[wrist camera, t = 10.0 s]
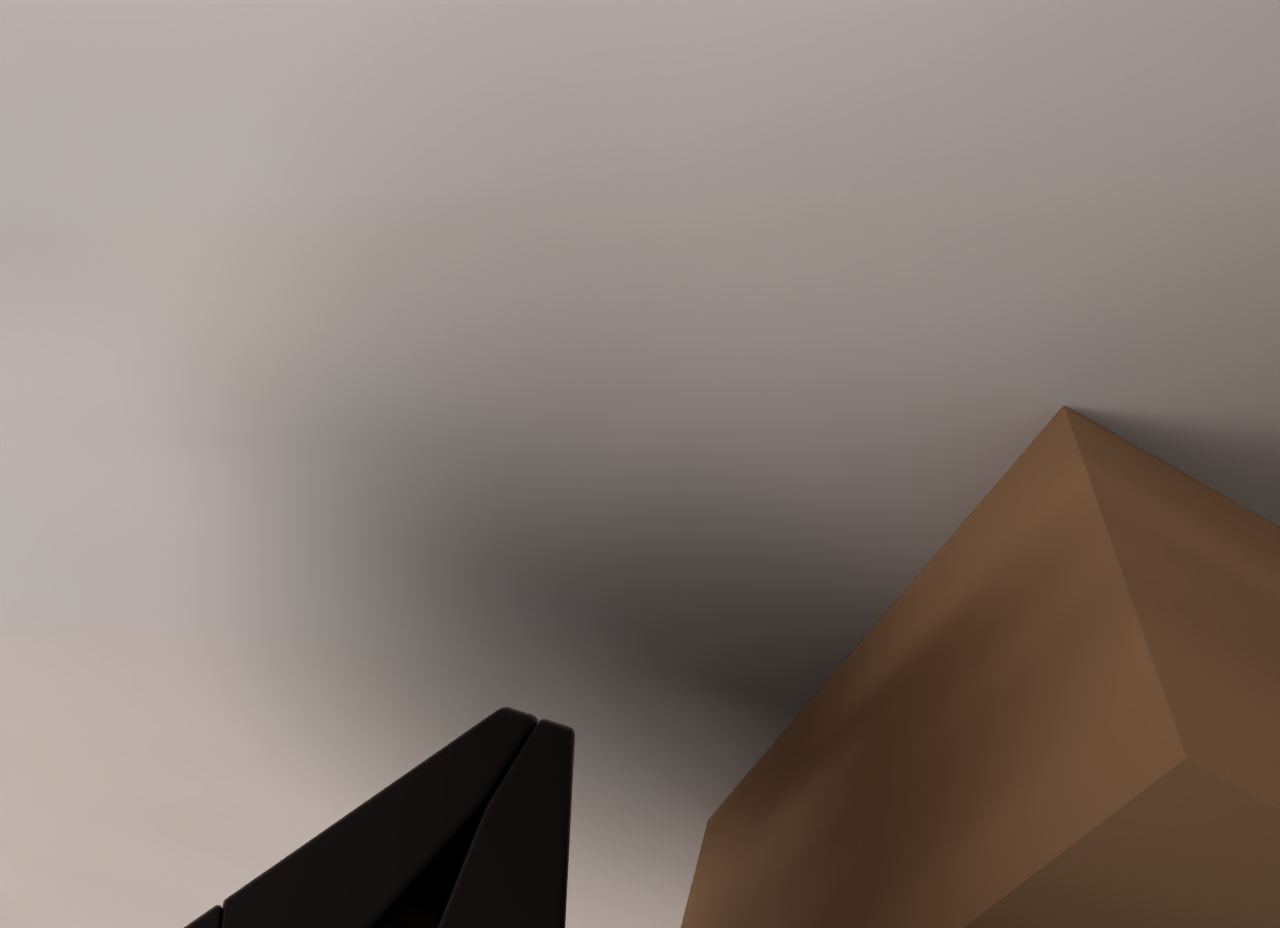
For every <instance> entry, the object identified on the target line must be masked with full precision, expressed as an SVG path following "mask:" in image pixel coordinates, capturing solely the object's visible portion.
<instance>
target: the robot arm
mask: <svg viewBox="0 0 1280 928" xmlns="http://www.w3.org/2000/svg"><path fill="white" fill-rule="evenodd" d="M574 743H575V732H574V730H573V729H572V728H570V727H568V726H565V725H562V724H559V723H555V722H552V721H549V720H545V719H543V720H540V721H539V722H538V720H537V718H536V717H535V716H533V715H531V714H527V713H524V712H521V711H518V710H515V709H512V708H508V707H505V708H501V709H499V710H497V711H495V712H494V713H493V714H491V715H490V716H488V717H487V718H485V719H484V720H483V721H481V722H480V723H478V724H477V725H475V726H474V727H472V728H471V729H470V730H468V731H467V732H465V733H464V734H462V735H461V736H460V737H458V738H457V739H455V740H454V741H452V742H451V743H449V744H448V745H447V746H445V747H444V748H442V749H441V750H439V751H438V752H437V753H435V754H434V755H432V756H431V757H429V758H428V759H426V760H425V761H424V762H422V763H421V764H419V765H418V766H416V767H415V768H414V769H412V770H411V771H409V772H408V773H406V774H405V775H403V776H402V777H401V778H399V779H398V780H396V781H395V782H393V783H392V784H391V785H389V786H388V787H386V788H385V789H383V790H382V791H380V792H379V793H378V794H376V795H375V796H373V797H372V798H370V799H369V800H367V801H366V802H365V803H363V804H362V805H360V806H359V807H357V808H356V809H355V810H353V811H352V812H350V813H349V814H347V815H346V816H344V817H343V818H342V819H340V820H339V821H337V822H336V823H334V824H333V825H332V826H330V827H329V828H327V829H326V830H324V831H323V832H321V833H320V834H319V835H317V836H316V837H314V838H313V839H311V840H310V841H309V842H307V843H306V844H304V845H303V846H301V847H300V848H298V849H297V850H296V851H294V852H293V853H291V854H290V855H288V856H287V857H286V858H284V859H283V860H281V861H280V862H278V863H277V864H275V865H274V866H273V867H271V868H270V869H268V870H267V871H265V872H264V873H263V874H261V875H260V876H258V877H257V878H255V879H254V880H252V881H251V882H250V883H248V884H247V885H245V886H244V887H242V888H241V889H240V890H238V891H237V892H235V893H234V894H232V895H231V896H229V897H228V898H227V899H225V900H224V902H223V909H222V907H221V906H220V905H216V906H214V907H213V908H211V909H210V910H209V911H207V912H206V913H204V914H203V915H202V916H200V917H199V918H197V919H196V920H194V921H193V922H191V923H190V924H189V925H187V926H186V927H184V928H565V920H566V900H567V881H568V861H569V841H570V822H571V802H572V782H573V763H574Z"/></svg>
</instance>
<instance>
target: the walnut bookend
mask: <svg viewBox="0 0 1280 928" xmlns="http://www.w3.org/2000/svg"><path fill="white" fill-rule="evenodd" d="M681 928H1280V527H1278V526H1276V525H1275V524H1273V523H1271V522H1269V521H1268V520H1266V519H1264V518H1262V517H1260V516H1259V515H1257V514H1255V513H1253V512H1252V511H1250V510H1248V509H1246V508H1244V507H1243V506H1241V505H1239V504H1237V503H1236V502H1234V501H1232V500H1230V499H1229V498H1227V497H1225V496H1223V495H1221V494H1220V493H1218V492H1216V491H1214V490H1213V489H1211V488H1209V487H1207V486H1205V485H1204V484H1202V483H1200V482H1198V481H1197V480H1195V479H1193V478H1191V477H1190V476H1188V475H1186V474H1184V473H1182V472H1181V471H1179V470H1177V469H1175V468H1174V467H1172V466H1170V465H1168V464H1166V463H1165V462H1163V461H1161V460H1159V459H1158V458H1156V457H1154V456H1152V455H1151V454H1149V453H1147V452H1145V451H1143V450H1142V449H1140V448H1138V447H1136V446H1135V445H1133V444H1131V443H1129V442H1127V441H1126V440H1124V439H1122V438H1120V437H1119V436H1117V435H1115V434H1113V433H1112V432H1110V431H1108V430H1106V429H1104V428H1103V427H1101V426H1099V425H1097V424H1096V423H1094V422H1092V421H1090V420H1088V419H1087V418H1085V417H1083V416H1081V415H1080V414H1078V413H1076V412H1074V411H1073V410H1071V409H1069V408H1067V407H1065V406H1063V407H1062V408H1061V410H1060V411H1059V412H1058V413H1057V414H1056V415H1055V417H1054V418H1053V419H1052V420H1051V421H1050V422H1049V424H1048V425H1047V426H1046V427H1045V428H1044V429H1043V431H1042V432H1041V433H1040V434H1039V435H1038V436H1037V438H1036V439H1035V440H1034V441H1033V442H1032V443H1031V444H1030V446H1029V447H1028V448H1027V449H1026V450H1025V451H1024V453H1023V454H1022V455H1021V456H1020V457H1019V458H1018V460H1017V461H1016V462H1015V463H1014V464H1013V465H1012V467H1011V468H1010V469H1009V470H1008V471H1007V472H1006V474H1005V475H1004V476H1003V477H1002V478H1001V479H1000V481H999V482H998V483H997V484H996V485H995V486H994V488H993V489H992V490H991V491H990V492H989V493H988V495H987V496H986V497H985V498H984V499H983V500H982V502H981V503H980V504H979V505H978V506H977V507H976V509H975V510H974V511H973V512H972V513H971V514H970V516H969V517H968V518H967V519H966V520H965V521H964V523H963V524H962V525H961V526H960V527H959V528H958V530H957V531H956V532H955V533H954V534H953V535H952V537H951V538H950V539H949V540H948V541H947V542H946V544H945V545H944V546H943V547H942V548H941V549H940V551H939V552H938V553H937V554H936V555H935V556H934V557H933V559H932V560H931V561H930V562H929V563H928V564H927V566H926V567H925V568H924V569H923V570H922V571H921V573H920V574H919V575H918V576H917V577H916V578H915V580H914V581H913V582H912V583H911V584H910V585H909V587H908V588H907V589H906V590H905V591H904V592H903V594H902V595H901V596H900V597H899V598H898V599H897V601H896V602H895V603H894V604H893V605H892V606H891V608H890V609H889V610H888V611H887V612H886V613H885V615H884V616H883V617H882V618H881V619H880V620H879V622H878V623H877V624H876V625H875V626H874V627H873V629H872V630H871V631H870V632H869V633H868V634H867V636H866V637H865V638H864V639H863V640H862V641H861V643H860V644H859V645H858V646H857V647H856V648H855V650H854V651H853V652H852V653H851V654H850V655H849V657H848V658H847V659H846V660H845V661H844V662H843V663H842V665H841V666H840V667H839V668H838V669H837V670H836V672H835V673H834V674H833V675H832V676H831V677H830V679H829V680H828V681H827V682H826V683H825V684H824V686H823V687H822V688H821V689H820V690H819V691H818V693H817V694H816V695H815V696H814V697H813V698H812V700H811V701H810V702H809V703H808V704H807V705H806V707H805V708H804V709H803V710H802V711H801V712H800V714H799V715H798V716H797V717H796V718H795V719H794V721H793V722H792V723H791V724H790V725H789V726H788V728H787V729H786V730H785V731H784V732H783V733H782V735H781V736H780V737H779V738H778V739H777V740H776V742H775V743H774V744H773V745H772V746H771V747H770V749H769V750H768V751H767V752H766V753H765V754H764V756H763V757H762V758H761V759H760V760H759V761H758V763H757V764H756V765H755V766H754V767H753V768H752V770H751V771H750V772H749V773H748V774H747V775H746V776H745V778H744V779H743V780H742V781H741V782H740V783H739V785H738V786H737V787H736V788H735V789H734V790H733V792H732V793H731V794H730V795H729V796H728V797H727V799H726V800H725V801H724V802H723V803H722V804H721V806H720V807H719V808H718V809H717V810H716V811H715V813H714V814H713V815H712V816H711V817H710V818H709V820H708V823H707V827H706V831H705V835H704V839H703V843H702V846H701V850H700V854H699V858H698V862H697V866H696V870H695V874H694V878H693V882H692V886H691V890H690V894H689V898H688V902H687V905H686V909H685V913H684V917H683V921H682V925H681Z"/></svg>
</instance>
